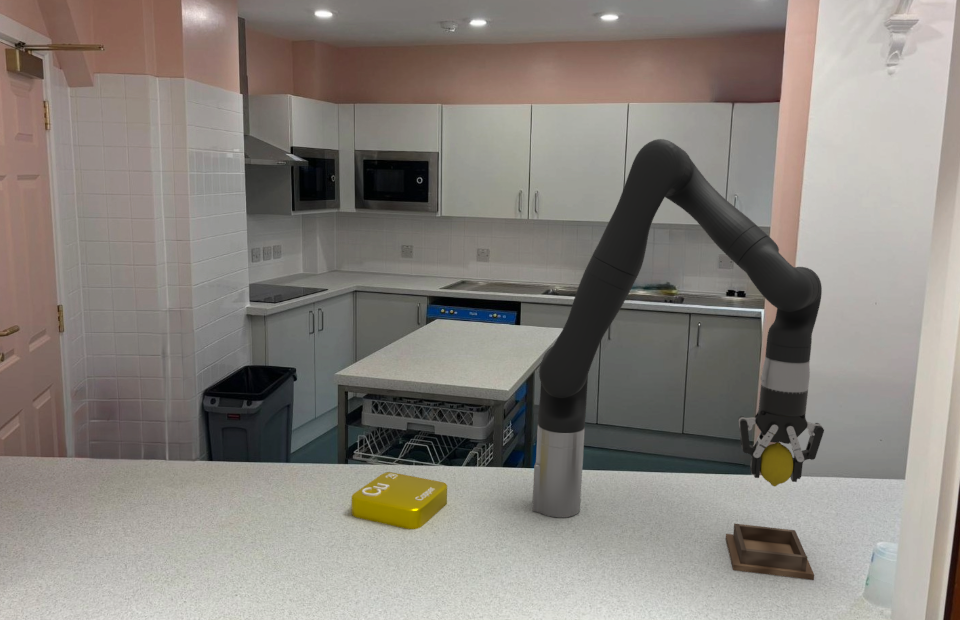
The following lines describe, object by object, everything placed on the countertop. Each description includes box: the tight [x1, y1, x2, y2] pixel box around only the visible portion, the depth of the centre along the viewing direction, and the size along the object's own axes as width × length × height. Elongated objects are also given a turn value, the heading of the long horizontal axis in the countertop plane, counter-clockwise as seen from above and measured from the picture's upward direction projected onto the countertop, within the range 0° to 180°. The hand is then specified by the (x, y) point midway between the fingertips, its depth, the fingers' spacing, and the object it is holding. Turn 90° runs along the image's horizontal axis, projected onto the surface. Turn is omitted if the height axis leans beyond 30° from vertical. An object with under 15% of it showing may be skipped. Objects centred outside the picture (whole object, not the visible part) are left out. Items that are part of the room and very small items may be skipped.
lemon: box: [760, 442, 794, 487], centre depth 134 cm, size 6×6×8 cm
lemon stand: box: [725, 522, 815, 581], centre depth 136 cm, size 13×12×4 cm
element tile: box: [351, 471, 448, 530], centre depth 152 cm, size 15×15×5 cm
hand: (774, 477), depth 134 cm, fingers closed on lemon, 5 cm apart
